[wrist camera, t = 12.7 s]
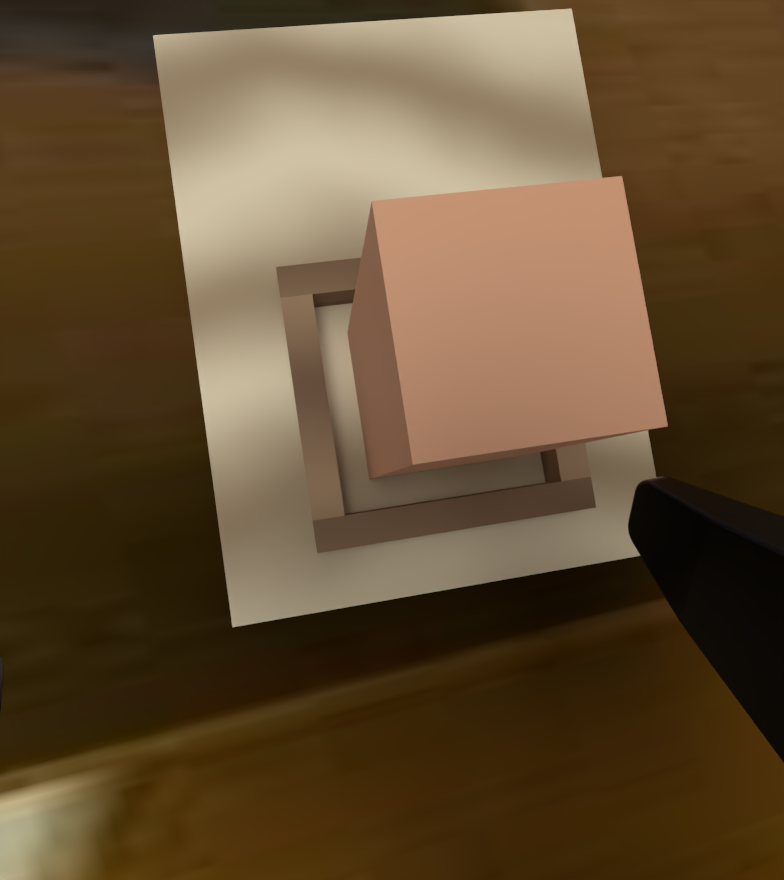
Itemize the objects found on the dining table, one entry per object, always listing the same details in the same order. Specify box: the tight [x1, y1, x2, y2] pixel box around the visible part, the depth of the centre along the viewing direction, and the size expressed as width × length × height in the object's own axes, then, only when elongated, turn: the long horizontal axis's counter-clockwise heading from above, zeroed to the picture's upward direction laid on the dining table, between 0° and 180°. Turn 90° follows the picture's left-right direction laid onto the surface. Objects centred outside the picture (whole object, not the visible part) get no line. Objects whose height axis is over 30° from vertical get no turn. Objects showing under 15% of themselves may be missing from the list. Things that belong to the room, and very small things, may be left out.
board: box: [153, 9, 656, 627], centre depth 22 cm, size 20×15×2 cm
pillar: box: [347, 176, 668, 479], centre depth 17 cm, size 5×5×10 cm
